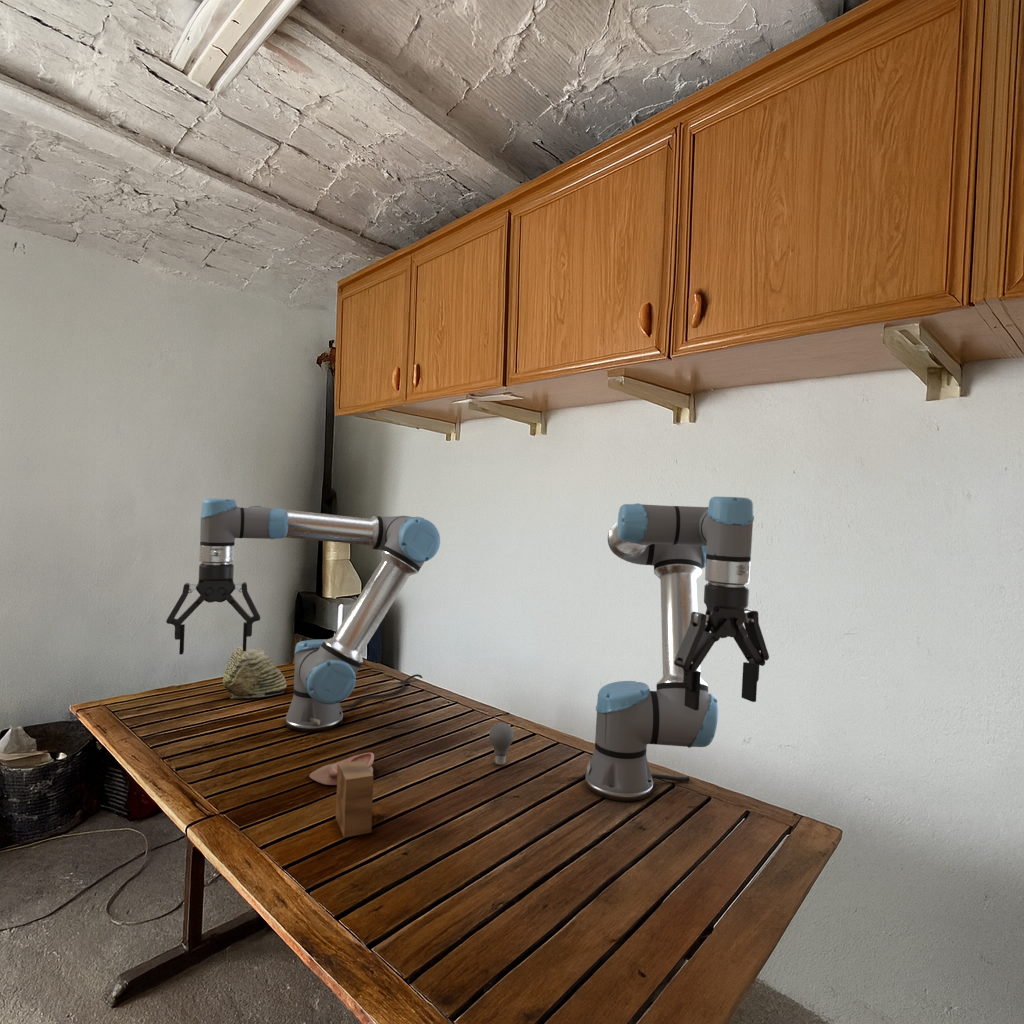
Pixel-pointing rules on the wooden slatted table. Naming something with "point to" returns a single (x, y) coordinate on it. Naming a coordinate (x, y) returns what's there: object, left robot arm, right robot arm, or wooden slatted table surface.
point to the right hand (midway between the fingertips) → (720, 703)
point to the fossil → (252, 674)
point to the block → (354, 798)
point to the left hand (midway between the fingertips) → (213, 651)
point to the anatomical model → (329, 772)
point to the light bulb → (501, 741)
